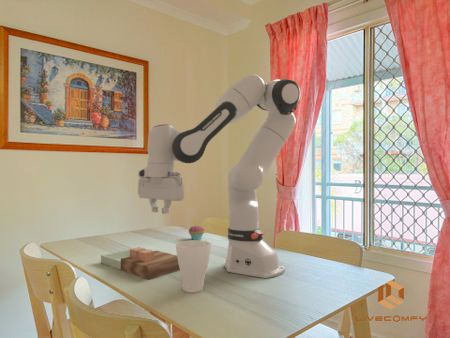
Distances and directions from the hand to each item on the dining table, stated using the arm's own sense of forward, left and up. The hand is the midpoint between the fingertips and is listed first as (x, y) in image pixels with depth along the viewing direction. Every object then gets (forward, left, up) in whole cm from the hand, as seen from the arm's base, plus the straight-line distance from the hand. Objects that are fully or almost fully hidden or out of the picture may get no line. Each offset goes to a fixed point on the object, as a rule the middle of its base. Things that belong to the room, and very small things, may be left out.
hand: (160, 212), depth 108 cm
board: (+7, -3, -21) cm, 22 cm away
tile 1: (+12, 0, -17) cm, 21 cm away
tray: (+21, -3, -21) cm, 30 cm away
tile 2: (+7, 0, -17) cm, 18 cm away
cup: (-18, +2, -21) cm, 28 cm away
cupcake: (+31, -51, -21) cm, 63 cm away
